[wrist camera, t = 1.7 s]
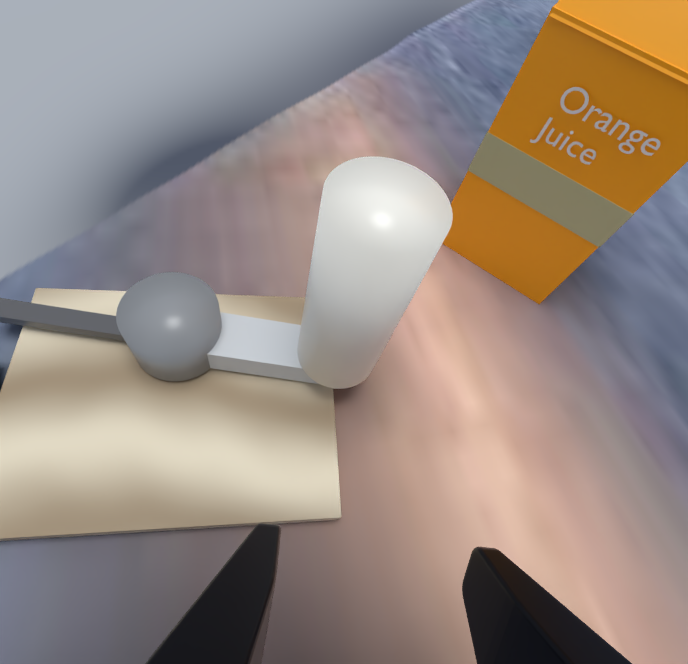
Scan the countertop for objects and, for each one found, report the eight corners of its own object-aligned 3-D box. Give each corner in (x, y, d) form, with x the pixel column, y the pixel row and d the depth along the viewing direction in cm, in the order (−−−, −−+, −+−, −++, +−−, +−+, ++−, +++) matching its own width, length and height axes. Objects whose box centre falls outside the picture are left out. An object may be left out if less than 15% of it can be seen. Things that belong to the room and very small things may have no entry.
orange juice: (539, 306, 29) (943, -81, 12) (431, 238, 30) (651, -193, 13) (573, 242, 33) (914, -118, 16) (475, 185, 34) (691, -202, 17)
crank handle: (-31, 352, 20) (-329, 128, 10) (15, 278, 22) (-190, 33, 12) (366, 409, 22) (456, 270, 12) (370, 335, 24) (449, 166, 14)
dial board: (337, 519, 20) (341, 517, 19) (-127, 549, 17) (-150, 547, 16) (325, 307, 26) (327, 297, 25) (-21, 296, 22) (-33, 284, 21)
